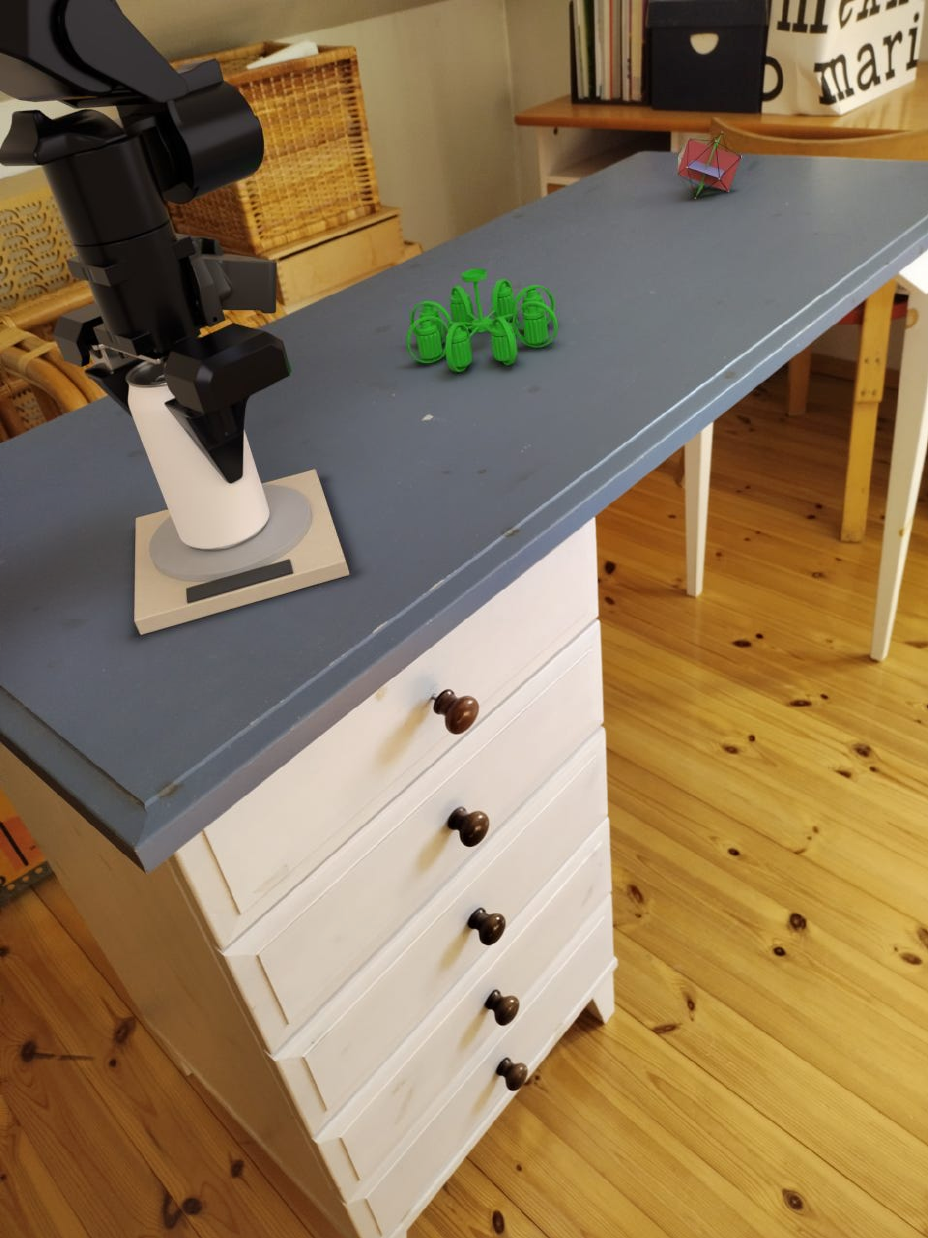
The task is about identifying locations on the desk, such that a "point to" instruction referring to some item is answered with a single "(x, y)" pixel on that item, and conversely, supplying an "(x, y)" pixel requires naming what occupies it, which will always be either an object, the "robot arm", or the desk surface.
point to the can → (193, 472)
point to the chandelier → (481, 323)
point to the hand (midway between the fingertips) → (207, 468)
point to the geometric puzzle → (707, 164)
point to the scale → (236, 559)
